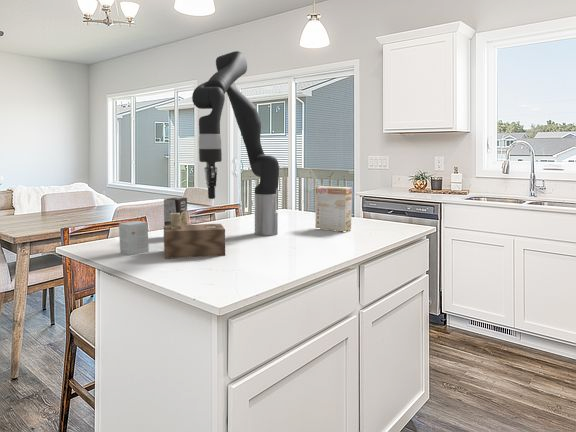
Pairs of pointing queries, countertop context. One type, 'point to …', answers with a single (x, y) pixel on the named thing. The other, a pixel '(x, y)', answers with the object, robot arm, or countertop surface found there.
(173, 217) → the pin
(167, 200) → the coffee box
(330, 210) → the coffeecake box
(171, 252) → the walnut block
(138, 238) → the small box
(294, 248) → the countertop surface
